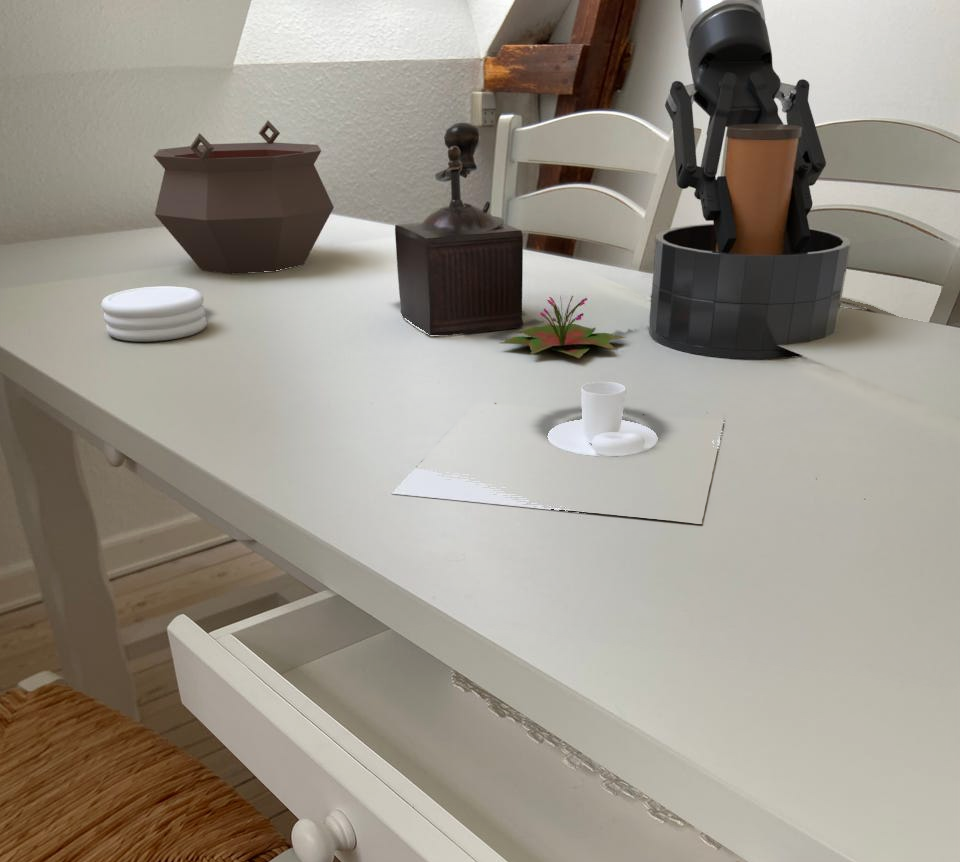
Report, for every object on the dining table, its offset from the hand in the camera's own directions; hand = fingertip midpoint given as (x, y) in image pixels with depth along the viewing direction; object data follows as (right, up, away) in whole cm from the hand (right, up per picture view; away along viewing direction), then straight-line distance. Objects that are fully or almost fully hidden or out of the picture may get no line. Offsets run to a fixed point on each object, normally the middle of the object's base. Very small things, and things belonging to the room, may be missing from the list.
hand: (764, 246), depth 91 cm
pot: (0, -6, +8) cm, 10 cm away
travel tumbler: (0, -1, +5) cm, 5 cm away
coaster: (-59, -4, +12) cm, 60 cm away
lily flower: (-18, -8, +4) cm, 20 cm away
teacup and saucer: (-19, -23, -20) cm, 36 cm away
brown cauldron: (-56, +14, +42) cm, 72 cm away
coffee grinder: (-29, -2, +15) cm, 33 cm away
